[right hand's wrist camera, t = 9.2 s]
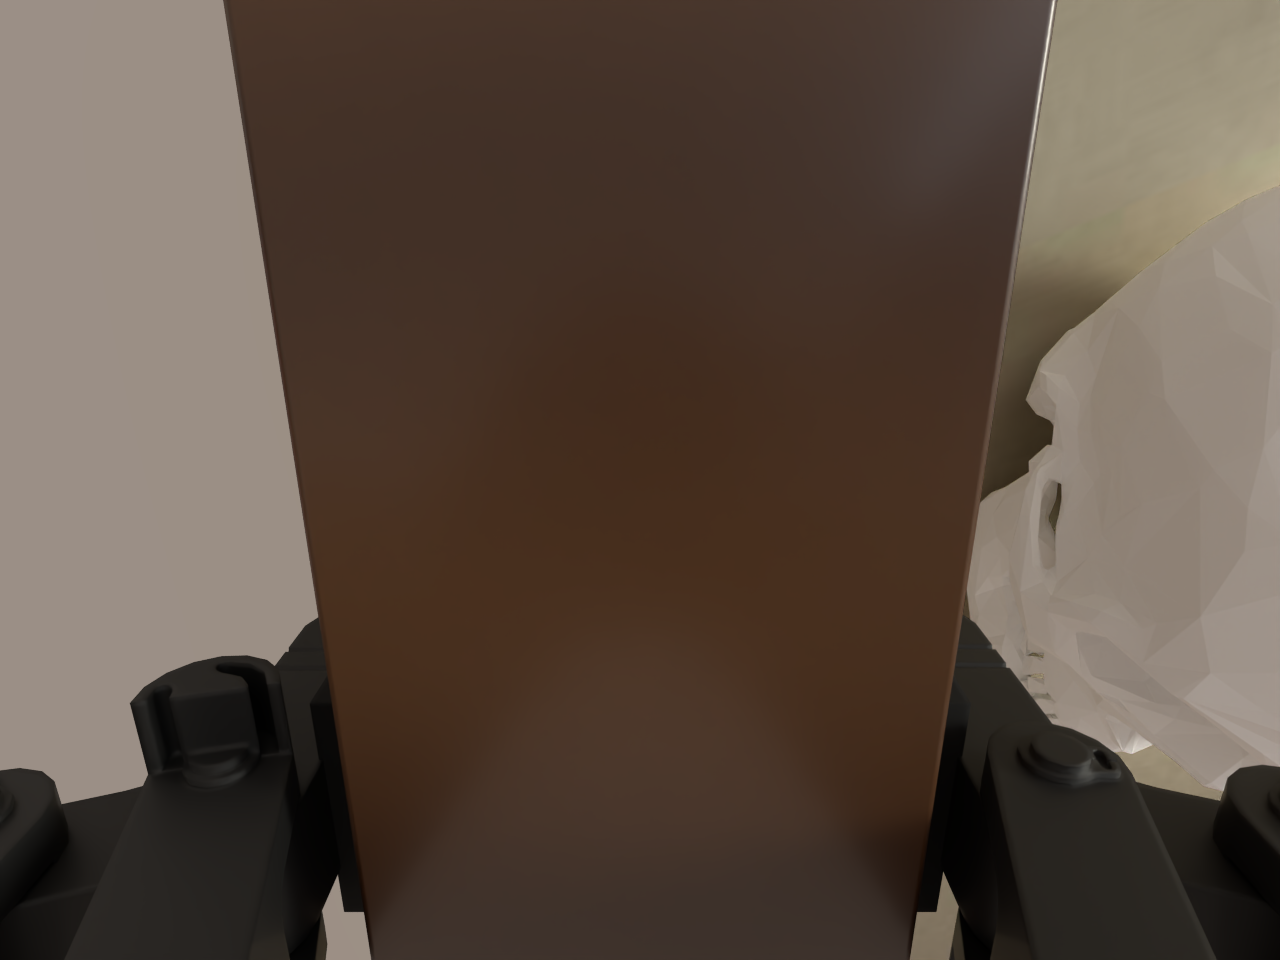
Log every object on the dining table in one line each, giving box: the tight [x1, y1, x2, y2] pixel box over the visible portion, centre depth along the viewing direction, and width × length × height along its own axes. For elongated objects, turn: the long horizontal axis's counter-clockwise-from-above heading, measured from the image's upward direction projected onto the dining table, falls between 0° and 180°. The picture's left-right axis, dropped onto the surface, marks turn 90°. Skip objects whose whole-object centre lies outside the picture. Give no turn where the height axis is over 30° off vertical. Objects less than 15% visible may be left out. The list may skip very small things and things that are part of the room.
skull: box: [967, 185, 1280, 791], centre depth 24 cm, size 13×22×16 cm, turn 165°
